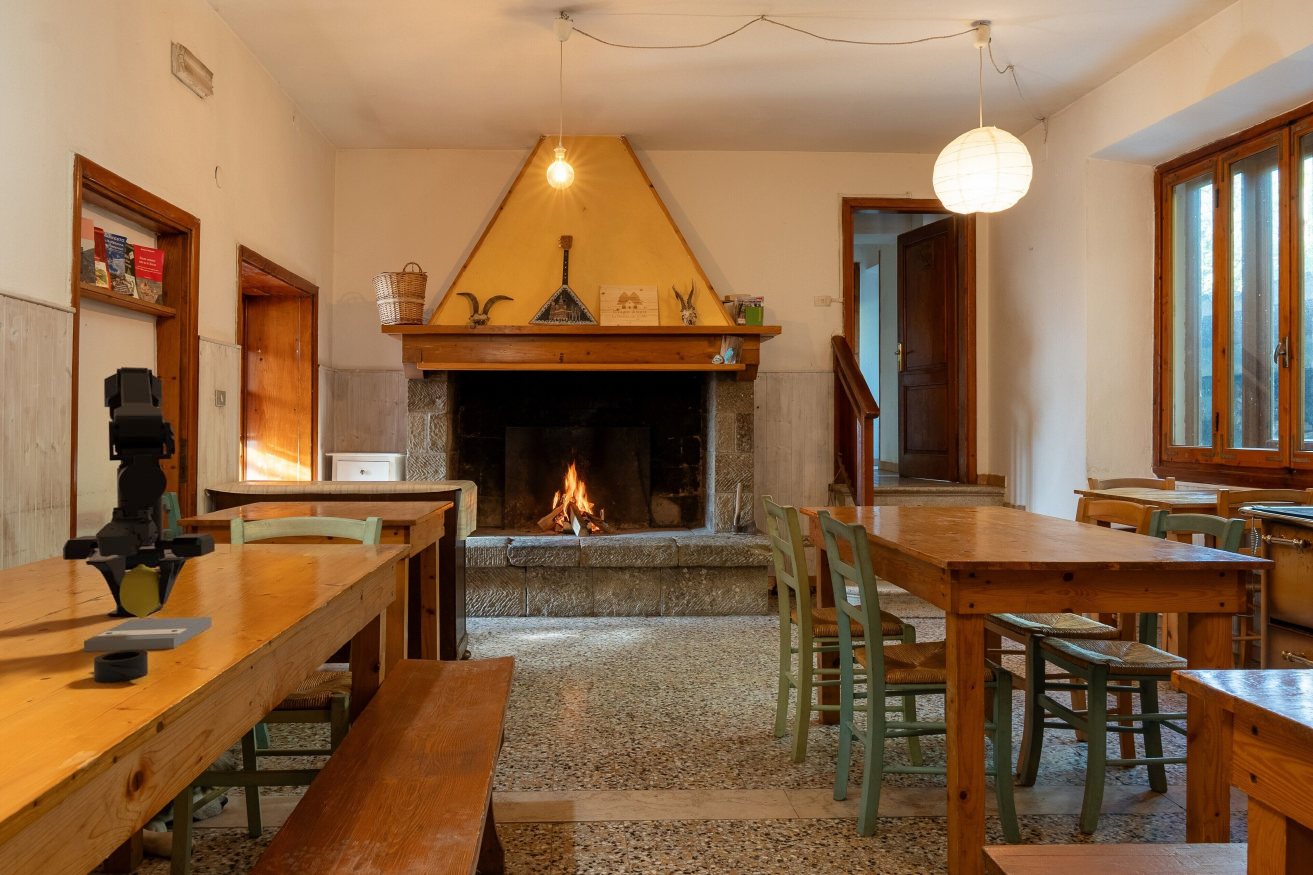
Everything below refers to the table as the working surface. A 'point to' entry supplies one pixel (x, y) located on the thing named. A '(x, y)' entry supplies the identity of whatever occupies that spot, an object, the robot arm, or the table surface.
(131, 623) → the grey flat block
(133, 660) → the black piece
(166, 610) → the table surface
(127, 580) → the lemon
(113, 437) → the robot arm
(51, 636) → the table surface
